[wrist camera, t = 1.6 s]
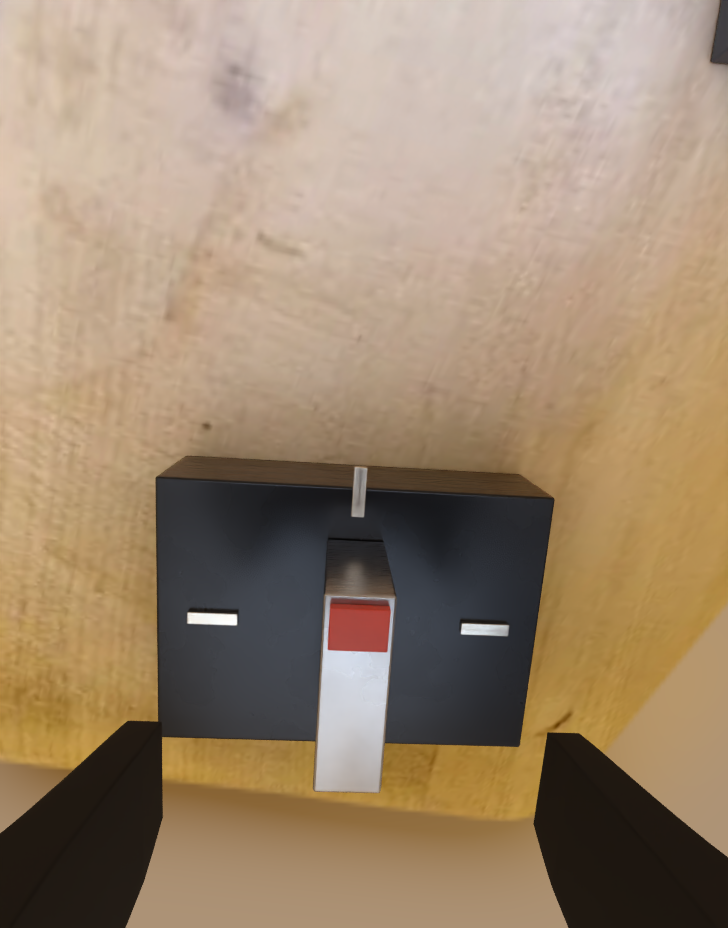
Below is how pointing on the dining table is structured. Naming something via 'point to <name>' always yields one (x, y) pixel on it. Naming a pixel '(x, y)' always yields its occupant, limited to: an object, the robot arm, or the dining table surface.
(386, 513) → the control panel
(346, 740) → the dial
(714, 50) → the button block
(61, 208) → the dining table surface
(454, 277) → the dining table surface
